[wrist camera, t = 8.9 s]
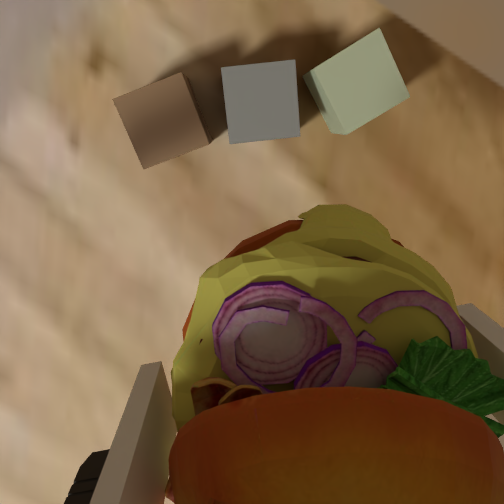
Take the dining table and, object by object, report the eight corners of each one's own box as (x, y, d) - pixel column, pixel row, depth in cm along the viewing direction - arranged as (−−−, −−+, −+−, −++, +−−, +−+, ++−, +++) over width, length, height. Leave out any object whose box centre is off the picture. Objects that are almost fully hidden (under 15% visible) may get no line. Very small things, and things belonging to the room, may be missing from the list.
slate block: (222, 74, 33) (220, 67, 29) (286, 68, 33) (295, 59, 29) (230, 140, 35) (229, 144, 30) (291, 134, 35) (300, 136, 30)
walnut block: (129, 102, 34) (112, 99, 29) (188, 79, 33) (181, 71, 29) (155, 163, 35) (143, 169, 30) (212, 141, 35) (209, 144, 30)
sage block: (301, 76, 34) (313, 68, 29) (358, 40, 33) (379, 27, 28) (331, 133, 35) (346, 134, 30) (385, 100, 34) (410, 96, 30)
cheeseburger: (480, 215, 15) (770, 490, 7) (380, 409, 21) (473, 696, 12) (202, 166, 14) (137, 420, 6) (173, 383, 20) (117, 679, 11)
